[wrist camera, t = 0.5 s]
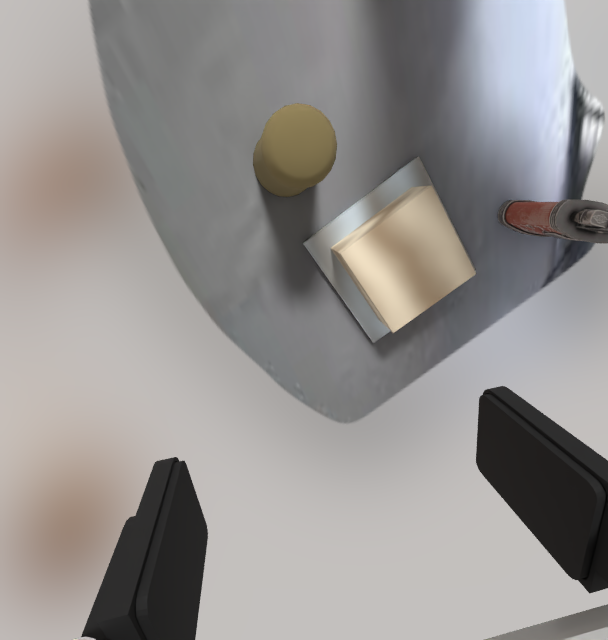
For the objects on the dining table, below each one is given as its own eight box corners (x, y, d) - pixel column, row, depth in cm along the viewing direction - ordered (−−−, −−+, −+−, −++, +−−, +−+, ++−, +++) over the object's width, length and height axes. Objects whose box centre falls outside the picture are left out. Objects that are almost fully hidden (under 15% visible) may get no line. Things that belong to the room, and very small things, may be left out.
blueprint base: (416, 157, 33) (440, 150, 29) (472, 269, 38) (500, 277, 34) (302, 243, 34) (310, 249, 30) (371, 341, 39) (386, 358, 35)
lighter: (493, 226, 37) (575, 234, 28) (504, 194, 36) (594, 191, 27) (552, 240, 39) (648, 253, 29) (565, 210, 38) (669, 213, 28)
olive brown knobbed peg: (325, 182, 33) (360, 173, 23) (268, 206, 33) (277, 209, 22) (302, 115, 31) (330, 72, 20) (241, 141, 31) (238, 111, 20)
